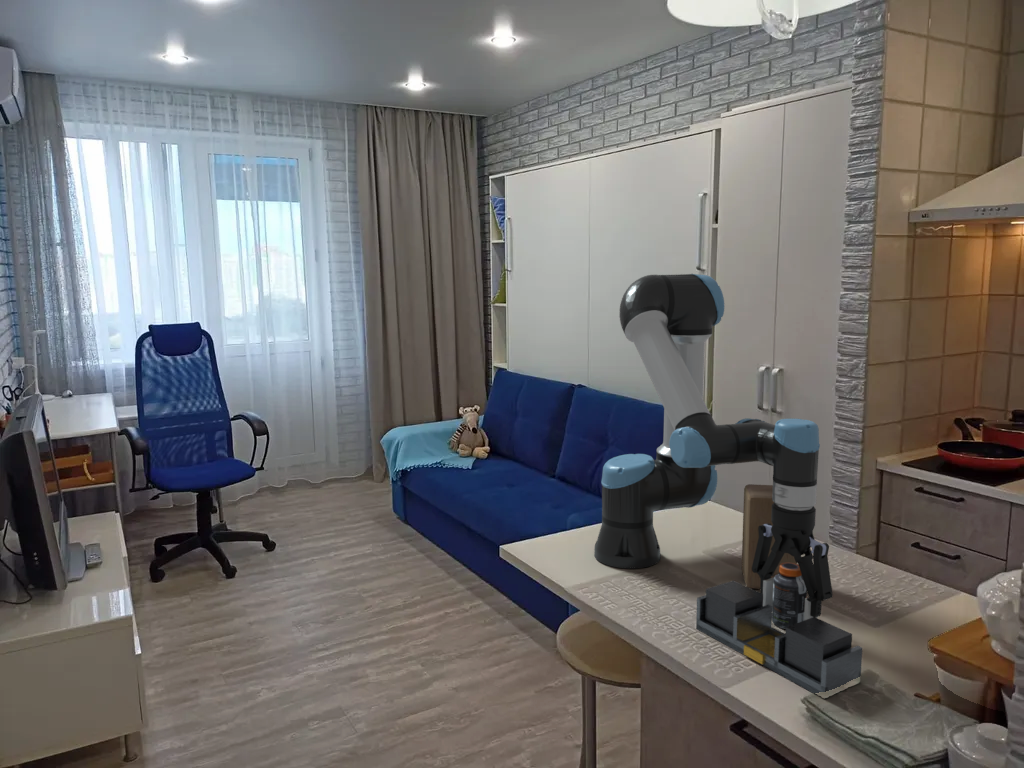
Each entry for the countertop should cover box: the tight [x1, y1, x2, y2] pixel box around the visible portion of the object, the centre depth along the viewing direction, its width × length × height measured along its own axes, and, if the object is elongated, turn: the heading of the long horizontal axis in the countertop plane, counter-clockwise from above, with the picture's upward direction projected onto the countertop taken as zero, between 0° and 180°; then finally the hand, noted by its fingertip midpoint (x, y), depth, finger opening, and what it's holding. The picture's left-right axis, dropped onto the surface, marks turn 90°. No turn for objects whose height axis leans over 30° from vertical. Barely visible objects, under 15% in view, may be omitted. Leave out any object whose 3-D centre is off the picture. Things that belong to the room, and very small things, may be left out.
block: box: [741, 483, 798, 590], centre depth 155 cm, size 10×10×20 cm
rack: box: [695, 580, 863, 694], centre depth 126 cm, size 27×9×8 cm, turn 31°
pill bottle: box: [772, 563, 808, 630], centre depth 137 cm, size 6×6×11 cm
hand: (788, 621), depth 138 cm, fingers open, 9 cm apart
